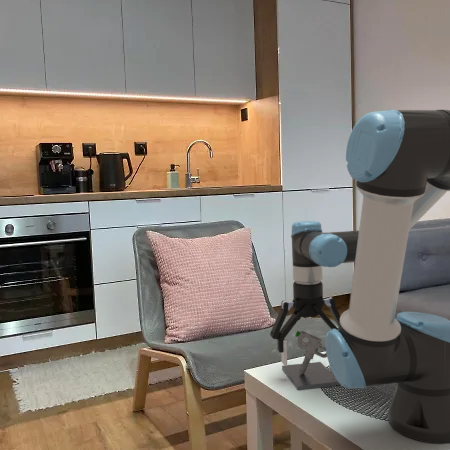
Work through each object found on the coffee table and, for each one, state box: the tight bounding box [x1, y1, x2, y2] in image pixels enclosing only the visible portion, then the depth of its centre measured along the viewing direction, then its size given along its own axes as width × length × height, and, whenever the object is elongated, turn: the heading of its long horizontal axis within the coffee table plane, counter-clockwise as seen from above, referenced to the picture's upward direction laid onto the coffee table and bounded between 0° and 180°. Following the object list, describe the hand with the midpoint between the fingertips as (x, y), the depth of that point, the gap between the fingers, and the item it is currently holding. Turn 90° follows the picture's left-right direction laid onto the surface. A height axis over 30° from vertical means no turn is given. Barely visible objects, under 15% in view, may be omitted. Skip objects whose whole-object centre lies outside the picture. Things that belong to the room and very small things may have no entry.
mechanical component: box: [295, 330, 327, 374], centre depth 132 cm, size 3×10×10 cm, turn 82°
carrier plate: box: [281, 361, 341, 391], centre depth 133 cm, size 14×11×1 cm
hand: (309, 361), depth 132 cm, fingers open, 13 cm apart
